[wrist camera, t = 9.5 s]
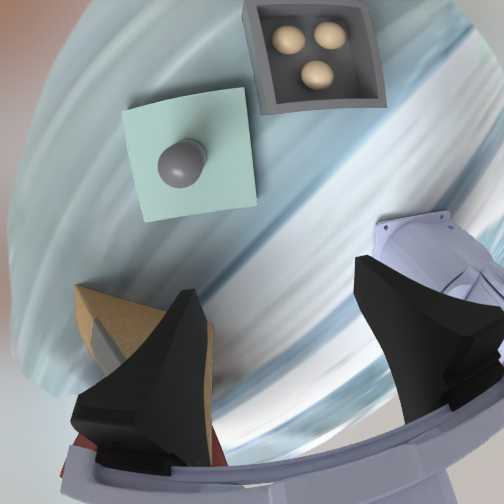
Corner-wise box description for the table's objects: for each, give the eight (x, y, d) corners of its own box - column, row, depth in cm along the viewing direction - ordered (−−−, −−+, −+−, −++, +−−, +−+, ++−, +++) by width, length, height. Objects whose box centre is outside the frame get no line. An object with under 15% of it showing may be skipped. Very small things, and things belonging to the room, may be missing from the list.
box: (346, 14, 13) (366, 1, 10) (363, 106, 17) (387, 107, 14) (241, 16, 13) (244, -1, 10) (261, 114, 17) (268, 115, 14)
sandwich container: (73, 280, 23) (5, 400, 10) (214, 321, 26) (213, 467, 13) (78, 334, 27) (38, 439, 14) (197, 368, 30) (192, 484, 17)
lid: (243, 88, 16) (247, 80, 12) (255, 200, 21) (262, 225, 16) (127, 111, 16) (99, 113, 12) (149, 216, 21) (130, 244, 16)
